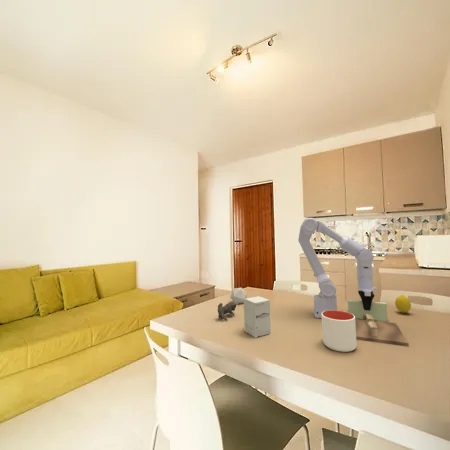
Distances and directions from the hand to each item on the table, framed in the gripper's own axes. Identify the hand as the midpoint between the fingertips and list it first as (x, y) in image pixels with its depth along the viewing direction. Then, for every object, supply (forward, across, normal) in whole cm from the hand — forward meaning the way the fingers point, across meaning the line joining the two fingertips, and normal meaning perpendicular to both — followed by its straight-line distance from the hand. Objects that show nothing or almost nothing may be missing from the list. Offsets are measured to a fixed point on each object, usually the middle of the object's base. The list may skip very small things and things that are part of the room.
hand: (366, 309), depth 101 cm
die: (+4, +5, +60) cm, 60 cm away
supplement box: (+4, -29, +39) cm, 49 cm away
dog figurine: (+4, -17, +56) cm, 59 cm away
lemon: (+4, +12, -15) cm, 20 cm away
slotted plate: (+4, 0, 0) cm, 4 cm away
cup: (+4, -30, +11) cm, 32 cm away
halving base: (+4, -14, 0) cm, 15 cm away
